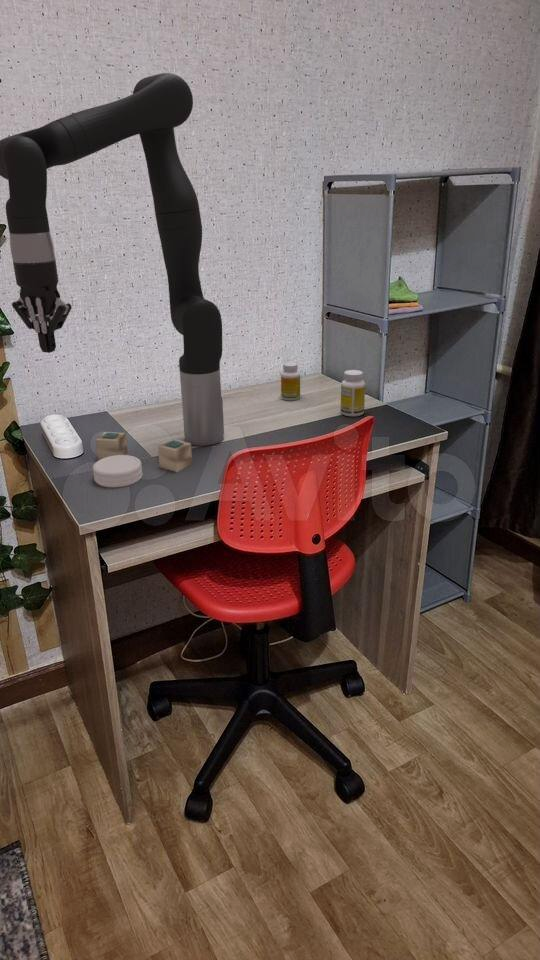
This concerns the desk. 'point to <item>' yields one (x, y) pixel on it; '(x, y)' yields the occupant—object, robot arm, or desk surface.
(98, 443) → the marked block
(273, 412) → the desk surface
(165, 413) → the desk surface
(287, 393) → the supplement bottle
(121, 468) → the white round container
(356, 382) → the pill bottle
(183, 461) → the marked block
